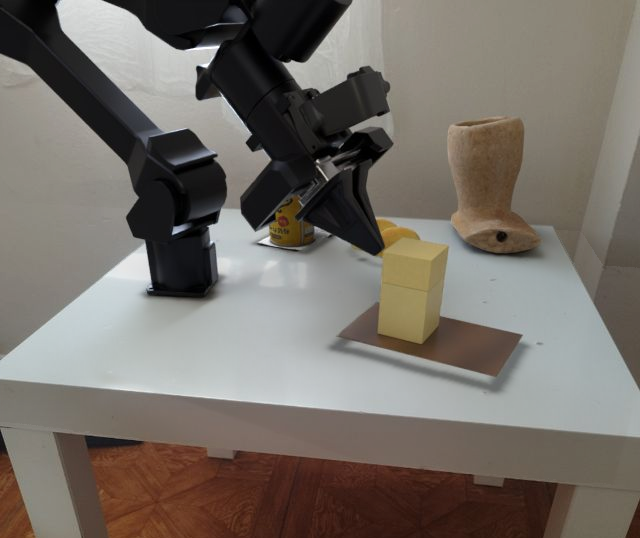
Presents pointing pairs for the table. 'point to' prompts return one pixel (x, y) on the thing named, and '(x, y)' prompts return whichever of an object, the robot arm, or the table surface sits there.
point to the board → (442, 342)
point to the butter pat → (414, 263)
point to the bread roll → (392, 233)
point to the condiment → (291, 228)
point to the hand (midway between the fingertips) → (380, 252)
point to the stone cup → (488, 183)
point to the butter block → (409, 311)
